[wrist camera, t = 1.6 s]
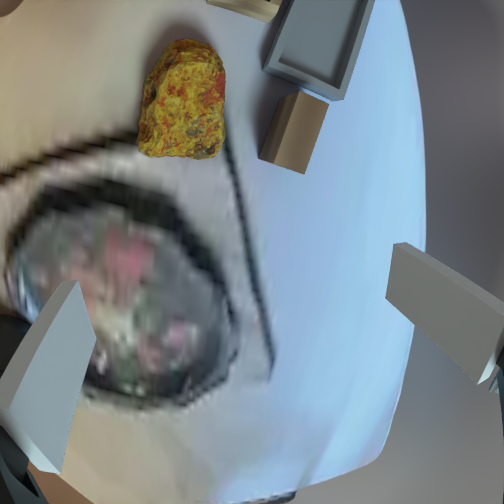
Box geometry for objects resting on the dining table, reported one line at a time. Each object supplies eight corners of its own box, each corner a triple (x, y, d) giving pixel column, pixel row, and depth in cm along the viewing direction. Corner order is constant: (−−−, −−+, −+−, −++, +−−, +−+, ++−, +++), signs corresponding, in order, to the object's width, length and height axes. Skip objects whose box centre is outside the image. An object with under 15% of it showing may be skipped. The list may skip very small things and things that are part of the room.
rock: (228, 110, 33) (226, 176, 28) (157, 115, 32) (141, 180, 28) (226, 25, 23) (222, 76, 18) (139, 33, 22) (107, 88, 18)
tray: (261, 70, 28) (267, 65, 26) (306, -35, 23) (313, -44, 21) (333, 101, 30) (343, 99, 28) (367, -4, 26) (377, -10, 24)
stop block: (258, 158, 31) (273, 163, 26) (279, 98, 29) (299, 90, 24) (284, 167, 32) (304, 174, 27) (305, 108, 30) (329, 104, 25)
